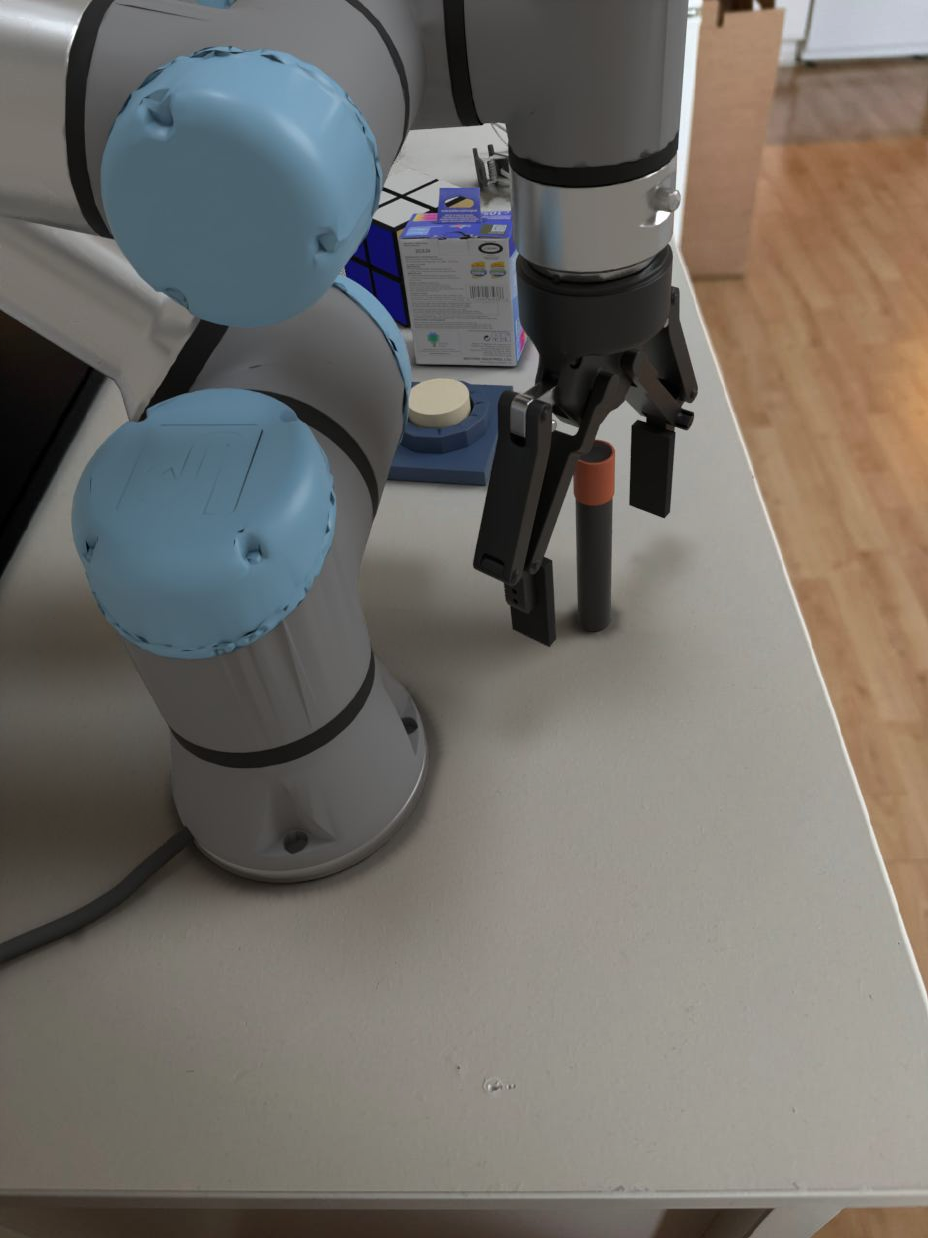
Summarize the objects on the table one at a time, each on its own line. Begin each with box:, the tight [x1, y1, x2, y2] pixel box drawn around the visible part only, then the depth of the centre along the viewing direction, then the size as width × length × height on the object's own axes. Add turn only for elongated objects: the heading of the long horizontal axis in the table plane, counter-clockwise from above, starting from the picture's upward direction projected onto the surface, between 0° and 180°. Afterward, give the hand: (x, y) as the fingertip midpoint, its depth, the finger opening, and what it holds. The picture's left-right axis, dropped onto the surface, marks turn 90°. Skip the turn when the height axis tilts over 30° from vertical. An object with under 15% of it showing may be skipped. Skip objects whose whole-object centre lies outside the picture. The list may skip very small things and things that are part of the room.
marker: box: [572, 439, 616, 632], centre depth 59 cm, size 2×2×14 cm
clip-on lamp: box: [471, 123, 509, 188], centre depth 114 cm, size 12×6×18 cm
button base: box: [387, 380, 514, 486], centre depth 79 cm, size 12×10×3 cm
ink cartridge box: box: [398, 187, 528, 367], centre depth 84 cm, size 10×6×14 cm, turn 78°
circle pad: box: [408, 377, 471, 429], centre depth 78 cm, size 5×5×2 cm
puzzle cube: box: [343, 167, 474, 328], centre depth 94 cm, size 10×10×10 cm
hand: (595, 568), depth 61 cm, fingers open, 13 cm apart
